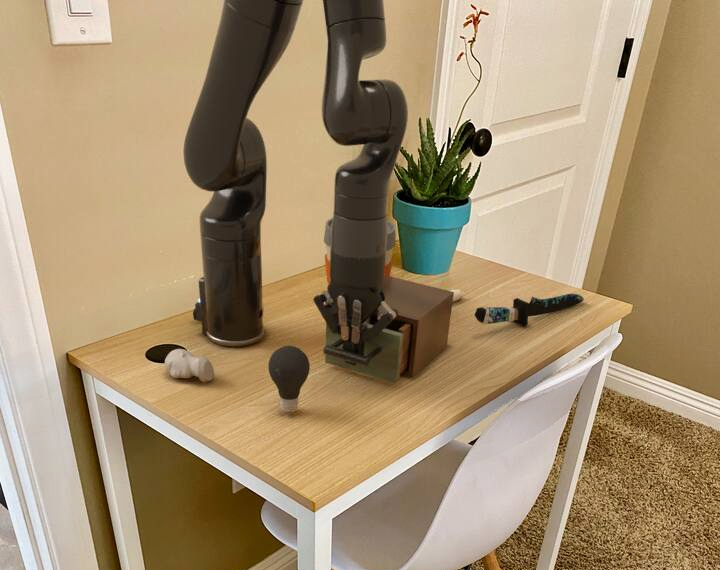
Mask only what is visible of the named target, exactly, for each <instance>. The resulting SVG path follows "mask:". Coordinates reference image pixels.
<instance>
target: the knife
mask: <svg viewBox="0 0 720 570" xmlns="http://www.w3.org/2000/svg"><path fill="white" fill-rule="evenodd" d="M584 299H585V298H584V297H583V296H582V295H580V294H579V293H567V294H562V295H558V296H553V297H548V298H537V297H535V296H531V298H530V301H529V302H527V301H525V300H522V299H520V298H518V297H516V298H514V299H513V301H512V302H513V303H512V306H492V307H491V306H481V307H477V308H476V310H475V313H474V317H475V318H476V320H477V321H478V322H479V324H482V325H483V326H485V325H490V324H491V325H492V324H499V323H505V322H512V321H513V322H514V323H516V324H518V325H519V326H522V327H526V326H527V325H529V317H536V316H542V315H547V314H552V313H556V312H560V311H563V310H566V309H570V308H572V307H576V305H579V304H581V303H582V302H583V301H584Z"/></svg>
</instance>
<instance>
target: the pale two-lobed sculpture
mask: <svg viewBox="0 0 720 570" xmlns="http://www.w3.org/2000/svg"><path fill="white" fill-rule="evenodd" d="M164 368H165V371H166V373H167V374H168V375H169V376H171V377H172V378H174V379H179V378H180V379H191V378H193V376H194V377H197V378H199V380H200V382H202V383H208V382H210V381H211V380H213V379H214V376H215V371H214V365H213V364H212V362H211V361H210V359H209V358H208V356H206V355H201V356H199V357H197V356H194V354H193V353H192V352H190V351H188V350H186V349H183V348H176V349H173V350H171V351H169V353H168V354H167V355H166V357H165V359H164Z"/></svg>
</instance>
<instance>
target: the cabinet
mask: <svg viewBox="0 0 720 570" xmlns="http://www.w3.org/2000/svg"><path fill="white" fill-rule="evenodd" d="M383 292H384V294H385V301H384V302H385V303H386V304H387V305H388V306H389V307H390V308H391V310H392V309H396V310H397V311H398V316H397V317H396V318H395V319H396V320H400V321H404V322H407V323H411V324H413V332H412V342H411V352H410V362H409V366H408V367H407V368H406V369H405V370H404V371H403V372H401V373H400V376H405V377H408V378H411V379H413V378H414V377H415V376H416V375H417V374H418V373H420V372H421V371H422V370H423V369H424V368H425V367H426V366H427V365H428V364H429V363H430V362H432V361H433V359H435V358H436V357H437V356H438V355H440V353H442V352H443V351H444V350H445V349H446V348H447V347H448V340H449V339H448V338H449V331H450V324H451V318H452V317H451V316H452V309H453V303H454V302H453V295H454V292H452V291H451V290H448V289H443V288H440V287H436V286H430V285H427V284H423V283H419V282H416V281H411V280H407V279H403V278H399V277H395V276H392V275H390V276H387V275H384V282H383ZM378 313H379V309H377V311H376V312H375V313H374V314H378Z"/></svg>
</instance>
